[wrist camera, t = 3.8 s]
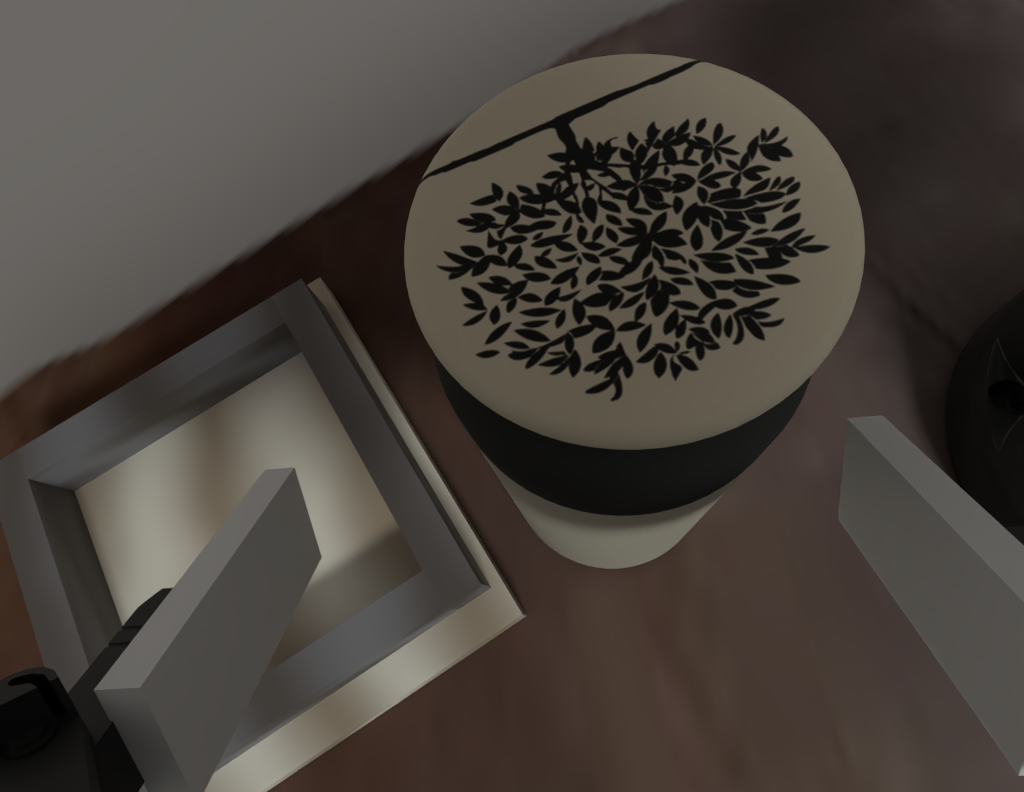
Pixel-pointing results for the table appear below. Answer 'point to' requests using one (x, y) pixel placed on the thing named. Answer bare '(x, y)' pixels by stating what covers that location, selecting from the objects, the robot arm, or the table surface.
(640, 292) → the travel mug
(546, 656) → the table surface
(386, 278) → the table surface
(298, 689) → the board
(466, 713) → the table surface
